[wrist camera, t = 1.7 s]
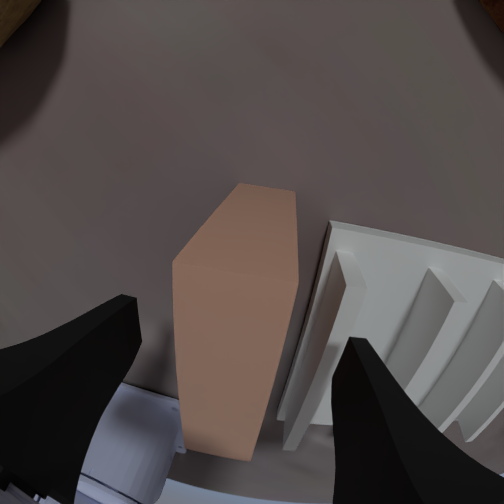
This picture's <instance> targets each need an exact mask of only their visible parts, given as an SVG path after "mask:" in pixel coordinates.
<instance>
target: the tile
mask: <svg viewBox="0 0 504 504" xmlns="http://www.w3.org/2000/svg"><path fill="white" fill-rule="evenodd" d="M298 284H299V277H298V242H297V217H296V197H295V192H293V191H287V190H281V189H275V188H268V187H262V186H255V185H248V184H241V183H239V184H238V185H237V186H236V187H235V189H234V190H233V191H232V192H231V193H230V194H229V195H228V197H227V198H226V199H225V200H224V201H223V202H222V203H221V204H220V206H219V207H218V208H217V209H216V210H215V211H214V213H213V214H212V215H211V216H210V217H209V218H208V220H207V221H206V222H205V223H204V224H203V225H202V227H201V228H200V229H199V230H198V231H197V232H196V234H195V235H194V236H193V237H192V238H191V240H190V241H189V242H188V243H187V244H186V246H185V247H184V248H183V249H182V250H181V252H180V253H179V254H178V255H177V257H176V258H175V259H174V260H173V314H174V337H175V355H176V369H177V382H178V394H179V404H180V414H181V423H182V431H183V439H184V447H185V448H186V449H190V450H194V451H198V452H202V453H206V454H211V455H216V456H221V457H226V458H231V459H237V460H243V461H249V462H250V460H251V457H252V454H253V451H254V448H255V445H256V441H257V438H258V435H259V432H260V428H261V425H262V422H263V418H264V415H265V411H266V408H267V405H268V401H269V398H270V394H271V390H272V387H273V383H274V380H275V376H276V372H277V369H278V365H279V361H280V357H281V353H282V350H283V346H284V342H285V338H286V334H287V330H288V326H289V322H290V318H291V314H292V309H293V305H294V301H295V297H296V292H297V288H298Z"/></svg>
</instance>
